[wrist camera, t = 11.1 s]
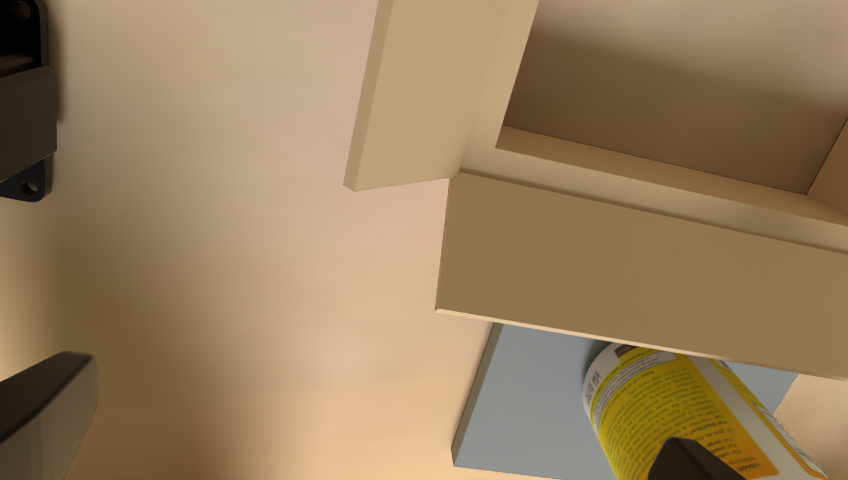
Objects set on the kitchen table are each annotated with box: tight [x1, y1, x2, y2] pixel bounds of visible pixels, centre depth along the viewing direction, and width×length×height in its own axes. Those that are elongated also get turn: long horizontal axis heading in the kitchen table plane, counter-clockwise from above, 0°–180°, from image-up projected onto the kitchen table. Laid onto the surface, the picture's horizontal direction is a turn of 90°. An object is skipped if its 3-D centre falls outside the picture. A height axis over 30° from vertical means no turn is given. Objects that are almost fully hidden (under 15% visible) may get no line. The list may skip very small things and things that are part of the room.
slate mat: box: [451, 322, 799, 480], centre depth 24 cm, size 13×12×1 cm
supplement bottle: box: [582, 342, 830, 480], centre depth 18 cm, size 6×6×10 cm
